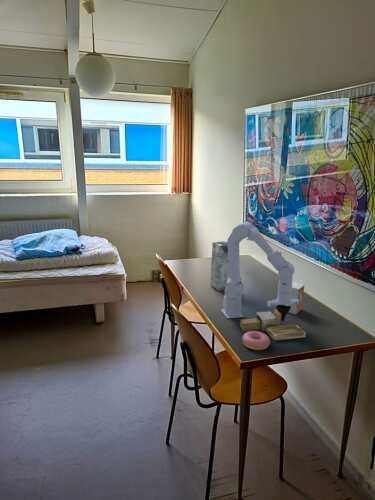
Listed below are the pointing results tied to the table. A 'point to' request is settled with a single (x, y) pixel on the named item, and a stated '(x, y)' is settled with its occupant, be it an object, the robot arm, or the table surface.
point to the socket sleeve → (267, 319)
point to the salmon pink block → (278, 316)
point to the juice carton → (219, 265)
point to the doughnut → (256, 340)
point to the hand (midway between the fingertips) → (281, 320)
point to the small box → (296, 297)
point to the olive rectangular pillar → (250, 324)
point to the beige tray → (285, 332)
